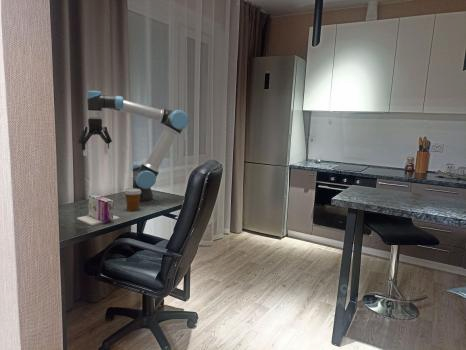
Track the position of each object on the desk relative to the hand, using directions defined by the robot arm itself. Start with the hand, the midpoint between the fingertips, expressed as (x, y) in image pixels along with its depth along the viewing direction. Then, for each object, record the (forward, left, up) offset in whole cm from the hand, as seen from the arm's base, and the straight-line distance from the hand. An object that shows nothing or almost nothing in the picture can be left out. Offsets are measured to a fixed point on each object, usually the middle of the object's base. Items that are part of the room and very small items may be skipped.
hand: (96, 155), depth 195 cm
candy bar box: (+13, +34, -25) cm, 44 cm away
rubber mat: (+13, +23, -31) cm, 41 cm away
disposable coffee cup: (-11, +20, -31) cm, 39 cm away
